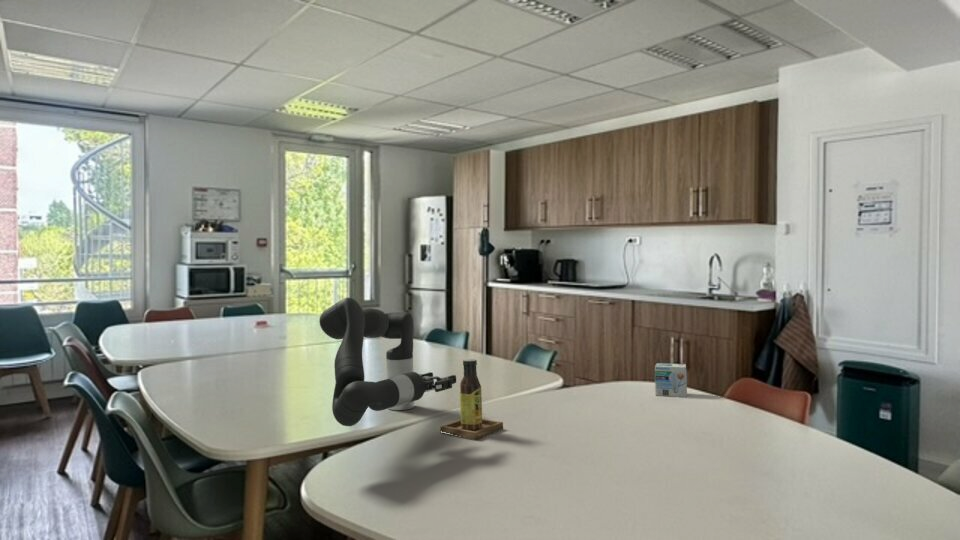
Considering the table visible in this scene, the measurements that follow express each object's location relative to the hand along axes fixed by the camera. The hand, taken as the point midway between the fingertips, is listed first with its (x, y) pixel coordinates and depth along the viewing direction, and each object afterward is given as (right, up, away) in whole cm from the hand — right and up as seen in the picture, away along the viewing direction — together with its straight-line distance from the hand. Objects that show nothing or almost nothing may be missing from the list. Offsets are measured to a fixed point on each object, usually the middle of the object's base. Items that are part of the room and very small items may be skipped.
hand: (443, 377), depth 155 cm
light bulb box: (+79, -15, +45) cm, 93 cm away
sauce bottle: (+8, -16, +6) cm, 19 cm away
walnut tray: (+8, -17, +6) cm, 20 cm away
